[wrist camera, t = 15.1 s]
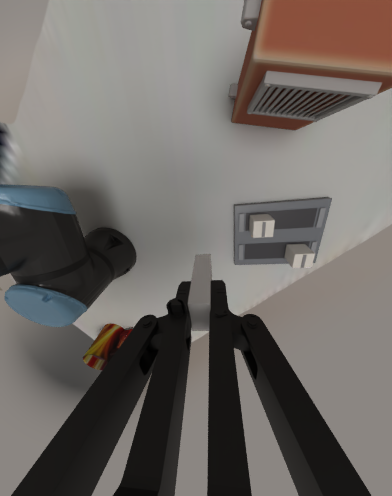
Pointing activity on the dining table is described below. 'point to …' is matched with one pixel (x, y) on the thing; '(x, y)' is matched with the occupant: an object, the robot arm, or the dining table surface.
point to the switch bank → (279, 229)
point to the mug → (105, 346)
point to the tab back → (299, 256)
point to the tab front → (261, 225)
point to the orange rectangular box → (311, 59)
